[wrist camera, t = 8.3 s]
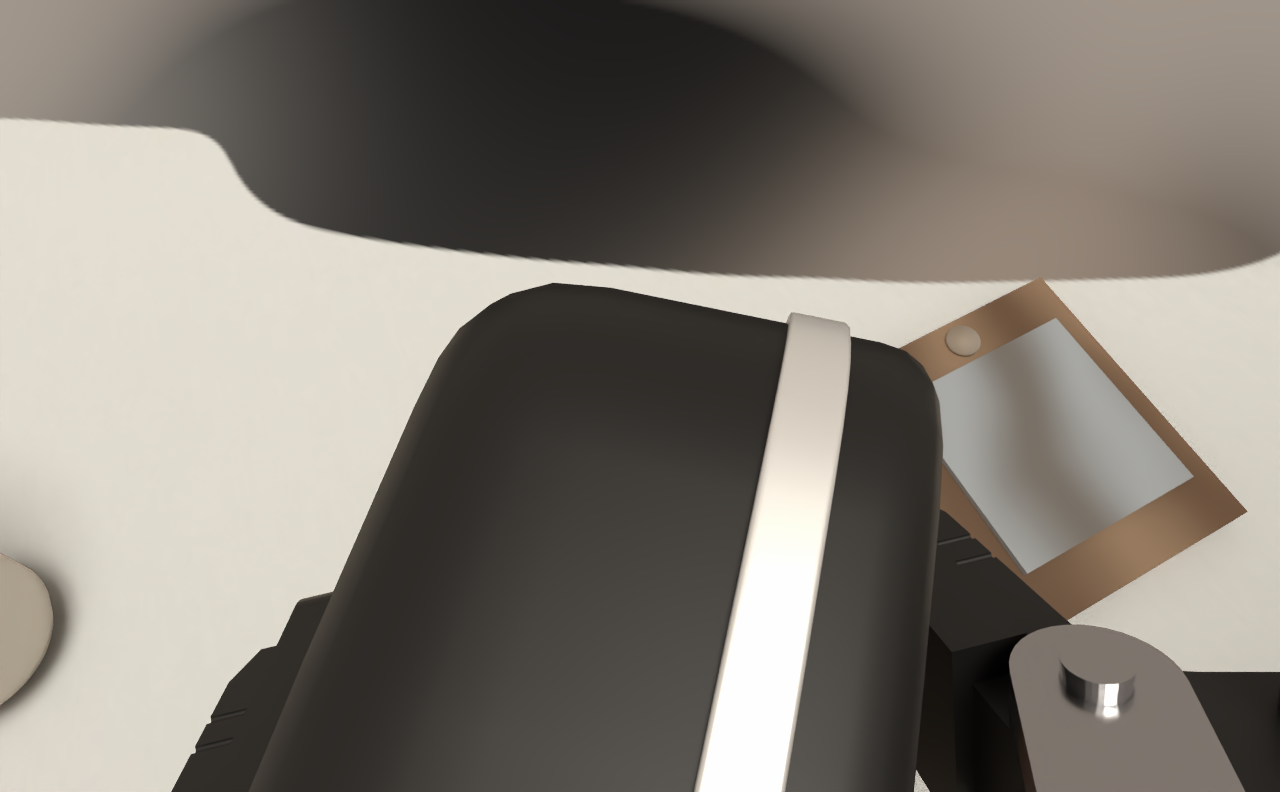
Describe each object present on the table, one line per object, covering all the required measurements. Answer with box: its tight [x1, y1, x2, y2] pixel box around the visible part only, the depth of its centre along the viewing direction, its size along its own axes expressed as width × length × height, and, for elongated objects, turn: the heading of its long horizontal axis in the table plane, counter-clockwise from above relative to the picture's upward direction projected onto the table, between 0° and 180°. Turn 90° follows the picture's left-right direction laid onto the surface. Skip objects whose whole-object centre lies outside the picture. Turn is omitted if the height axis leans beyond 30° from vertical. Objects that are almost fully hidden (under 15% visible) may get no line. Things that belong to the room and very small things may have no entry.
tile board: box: [899, 277, 1247, 620], centre depth 29 cm, size 30×12×1 cm, turn 117°
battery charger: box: [249, 283, 943, 792], centre depth 9 cm, size 7×4×11 cm, turn 165°
